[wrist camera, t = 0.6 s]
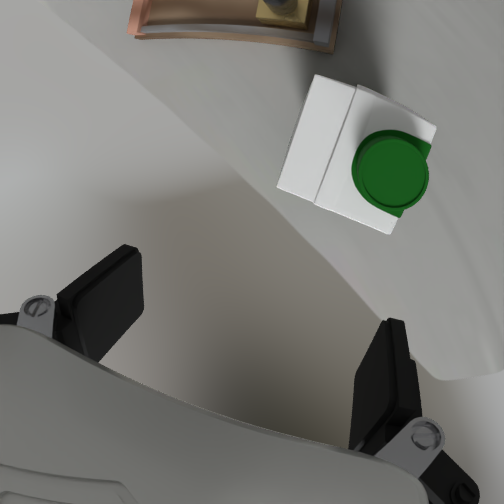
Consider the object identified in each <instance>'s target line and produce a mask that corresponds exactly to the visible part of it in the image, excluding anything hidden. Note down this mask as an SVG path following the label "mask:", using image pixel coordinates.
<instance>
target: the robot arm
mask: <svg viewBox="0 0 504 504" xmlns="http://www.w3.org/2000/svg"><path fill="white" fill-rule="evenodd" d="M143 310H144V299H143V281H142V257H141V253H140V252H139V251H138V249H137V248H136V247H133V246H129V245H126V244H124V245H122V246H120V247H119V248H118V249H116V250H115V251H113V252H112V253H111V254H109V255H108V256H106V257H105V258H104V259H102V260H101V261H100V262H98V263H97V264H96V265H94V266H93V267H92V268H90V269H89V270H88V271H86V272H85V273H84V274H82V275H81V276H80V277H78V278H77V279H76V280H74V281H73V282H72V283H71V284H69V285H68V286H67V287H65V288H64V289H63V290H62V291H60V292H59V293H58V294H57V300H56V301H55V302H54V300H53V299H52V298H50V297H49V296H45V295H37V296H33V297H31V298H29V299H27V300H26V301H25V302H24V303H23V304H22V306H21V308H20V312H17V313H16V312H15V313H8V314H0V504H478V503H479V498H480V493H479V489H478V486H477V484H476V483H475V482H474V481H473V480H472V479H471V478H470V477H469V476H468V475H467V474H466V473H465V472H464V471H463V470H462V469H461V468H460V467H459V466H458V465H457V464H456V463H455V462H454V461H453V460H452V459H451V458H450V457H449V456H448V455H447V454H446V453H445V452H444V451H443V450H442V448H443V446H444V444H445V435H444V432H443V430H442V428H441V427H440V425H438V423H437V422H435V421H434V420H432V419H430V418H427V417H422V408H421V399H420V391H419V383H418V376H417V369H416V363H415V361H414V360H411V359H410V353H409V347H408V341H407V335H406V329H405V323H404V321H402V320H398V319H394V318H388V319H387V321H385V320H383V321H382V322H381V324H380V326H379V328H378V330H377V332H376V334H375V336H374V338H373V340H372V342H371V344H370V346H369V348H368V350H367V352H366V354H365V356H364V358H363V360H362V362H361V364H360V366H359V368H358V370H357V371H356V375H355V379H354V393H353V407H352V408H353V409H352V419H351V429H350V440H349V448H348V449H345V448H341V447H336V446H331V445H327V444H322V443H318V442H313V441H309V440H306V439H302V438H297V437H293V436H290V435H286V434H282V433H278V432H275V431H271V430H267V429H264V428H261V427H257V426H254V425H250V424H247V423H244V422H241V421H238V420H235V419H231V418H229V417H226V416H223V415H220V414H217V413H214V412H211V411H208V410H205V409H203V408H200V407H197V406H194V405H192V404H189V403H187V402H184V401H182V400H179V399H177V398H174V397H171V396H169V395H167V394H164V393H162V392H160V391H157V390H155V389H153V388H150V387H148V386H146V385H143V384H141V383H139V382H137V381H134V380H132V379H130V378H128V377H126V376H124V375H122V374H120V373H117V372H115V371H113V370H111V369H109V368H107V367H105V366H103V365H101V364H99V363H98V362H99V361H100V360H101V359H102V358H103V356H104V355H105V354H106V353H107V352H108V351H109V350H110V349H111V348H112V346H113V345H114V344H115V343H116V342H117V341H118V339H120V338H121V336H122V335H123V334H124V333H125V332H126V330H128V329H129V328H130V326H131V325H132V324H133V323H134V322H135V321H136V320H137V319H138V318H139V317H140V315H141V314H142V312H143Z"/></svg>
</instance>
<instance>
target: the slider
mask: <svg viewBox="0 0 504 504" xmlns="http://www.w3.org/2000/svg"><path fill="white" fill-rule="evenodd" d="M312 4H313V0H259V2H258V7H257V13H256V18H257V19H258V20H259V21H260V22H261V23H262V24H266V25H276V26H284V27H291V28H298V29H305V30H308V26H309V21H310V15H311V9H312Z"/></svg>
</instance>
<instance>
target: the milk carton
mask: <svg viewBox="0 0 504 504" xmlns="http://www.w3.org/2000/svg"><path fill="white" fill-rule="evenodd" d="M436 129H437V127H436V125H434V124H433V123H431V122H430V121H428V120H426V119H425V118H423V117H422V116H420V115H419V114H417V113H416V112H414V111H413V110H411V109H409V108H408V107H406V106H404V105H402V104H400V103H398V102H396V101H394V100H392V99H390V98H388V97H386V96H384V95H382V94H379V93H377V92H375V91H373V90H371V89H369V88H366V87H364V86H361V85H359V84H357V87H355V86H352V85H349V84H346V83H343V82H340V81H337V80H334V79H331V78H327V77H324V76H321V75H317V74H315V76H314V78H313V81H312V83H311V86H310V88H309V90H308V93H307V95H306V98H305V100H304V102H303V105H302V107H301V110H300V113H299V116H298V119H297V122H296V124H295V127H294V130H293V133H292V136H291V139H290V142H289V145H288V149H287V152H286V156H285V159H284V163H283V166H282V170H281V173H280V177H279V180H278V183H277V188H279V189H281V190H284V191H287V192H289V193H292V194H294V195H297V196H299V197H302V198H304V199H307V200H309V201H312V202H314V204H315V205H317V206H319V207H322V208H324V209H327V210H329V211H333V212H336V213H338V214H341V215H343V216H345V217H348V218H350V219H353V220H355V221H357V222H360V223H362V224H365V225H367V226H369V227H372V228H374V229H376V230H379V231H381V232H383V233H386V234H391V232H392V230H393V228H394V226H395V224H396V222H397V219H398V218H400V217H401V215H402V213H403V211H404V209H407V208H409V207H412V206H413V205H414V204H416V203H417V202H418V201H419V200H420V199H421V198H422V196H423V195H424V193H425V191H426V188H427V185H428V180H429V171H428V166H427V163H426V159H427V156H428V154H429V152H430V149H431V145H430V144H431V141H432V139H433V136H434V134H435V131H436Z"/></svg>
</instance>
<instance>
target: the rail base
mask: <svg viewBox="0 0 504 504" xmlns="http://www.w3.org/2000/svg"><path fill="white" fill-rule="evenodd" d="M258 2H259V0H133V5H132V9H131V14H130V19H129V24H128V29H127V34H132V35H135V38H136V39H140V40H145V39H171V38H197V39H223V40H238V41H250V42H260V43H268V44H276V45H284V46H290V47H297V48H303V49H308V50H314V51H319V52H324V53H329V54H333V52H334V47H335V41H336V35H337V30H338V24H339V18H340V12H341V6H342V0H313V4H312V9H311V15H310V21H309V26H308V30H305V29H298V28H291V27H284V26H276V25H266V24H262V23H261V22H260V21H259V20H258V19H257V18H256V13H257V7H258Z"/></svg>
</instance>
